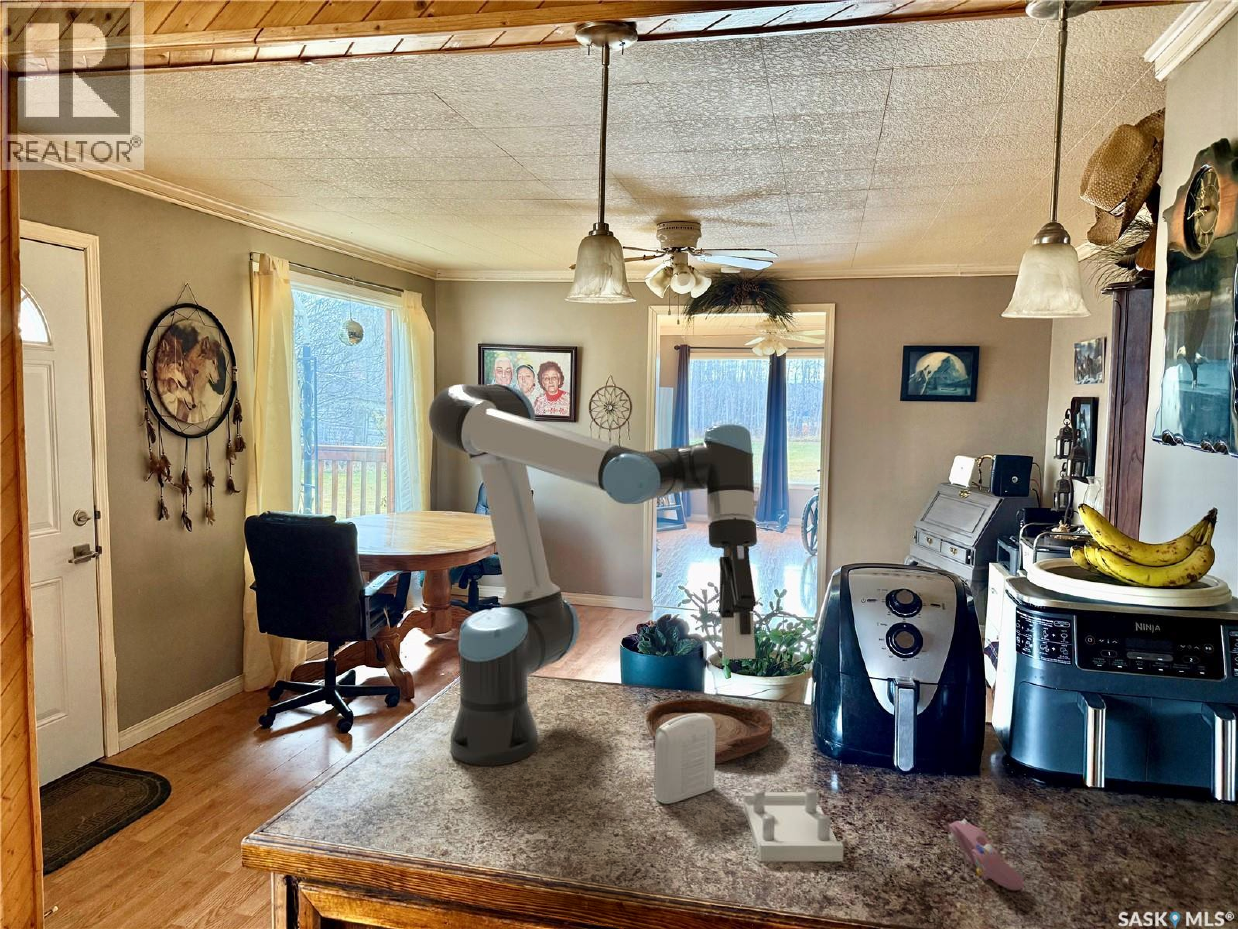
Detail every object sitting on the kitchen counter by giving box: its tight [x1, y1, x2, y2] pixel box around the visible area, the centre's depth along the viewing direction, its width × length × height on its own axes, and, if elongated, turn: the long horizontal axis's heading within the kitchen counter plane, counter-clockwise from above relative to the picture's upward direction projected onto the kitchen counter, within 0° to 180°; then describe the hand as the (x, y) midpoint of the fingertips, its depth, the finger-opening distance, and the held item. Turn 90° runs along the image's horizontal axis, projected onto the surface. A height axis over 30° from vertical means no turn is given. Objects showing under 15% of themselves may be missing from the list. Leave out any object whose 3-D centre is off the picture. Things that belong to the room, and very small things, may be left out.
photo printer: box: [653, 713, 716, 804], centre depth 122 cm, size 10×4×12 cm, turn 123°
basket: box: [645, 698, 773, 764], centre depth 141 cm, size 22×20×5 cm
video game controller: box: [947, 818, 1024, 891], centre depth 103 cm, size 10×5×7 cm, turn 5°
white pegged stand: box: [742, 788, 844, 862], centre depth 112 cm, size 14×11×4 cm
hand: (738, 659), depth 120 cm, fingers open, 13 cm apart
